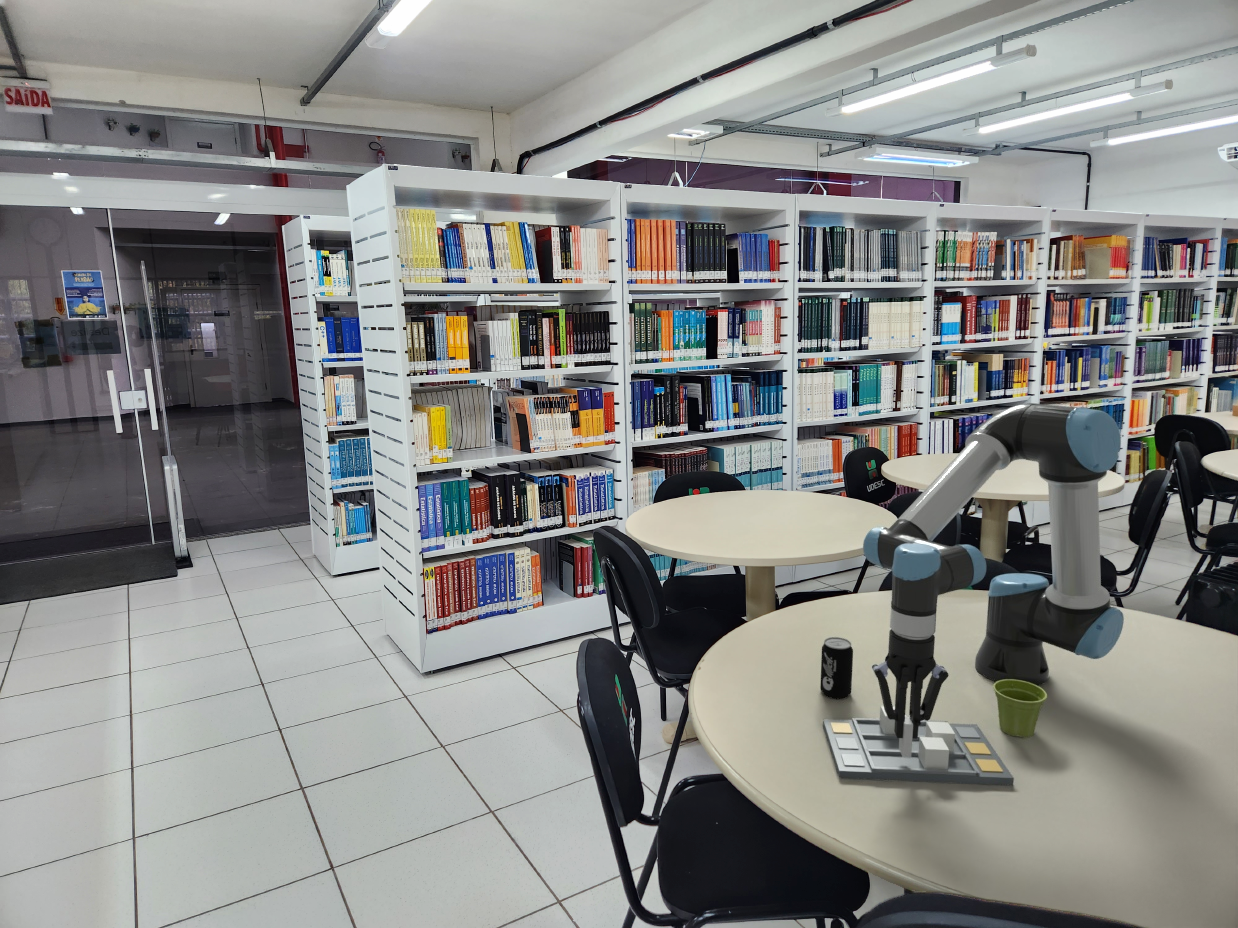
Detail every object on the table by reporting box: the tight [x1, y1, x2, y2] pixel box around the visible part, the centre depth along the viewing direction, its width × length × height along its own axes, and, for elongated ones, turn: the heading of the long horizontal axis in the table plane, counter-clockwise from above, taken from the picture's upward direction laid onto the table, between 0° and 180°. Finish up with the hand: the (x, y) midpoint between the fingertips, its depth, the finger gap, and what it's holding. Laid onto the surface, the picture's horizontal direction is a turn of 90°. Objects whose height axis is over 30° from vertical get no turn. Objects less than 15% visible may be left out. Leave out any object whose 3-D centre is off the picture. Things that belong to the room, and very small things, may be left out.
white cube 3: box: [918, 737, 949, 770], centre depth 139 cm, size 4×4×4 cm
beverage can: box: [820, 636, 854, 700], centre depth 167 cm, size 7×7×12 cm
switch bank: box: [822, 717, 1015, 787], centre depth 145 cm, size 30×18×2 cm, turn 84°
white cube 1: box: [879, 705, 908, 734], centre depth 150 cm, size 4×4×4 cm
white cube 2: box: [925, 721, 955, 752], centre depth 144 cm, size 4×4×4 cm
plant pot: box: [992, 679, 1048, 739], centre depth 152 cm, size 9×9×9 cm
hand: (904, 752), depth 139 cm, fingers closed
